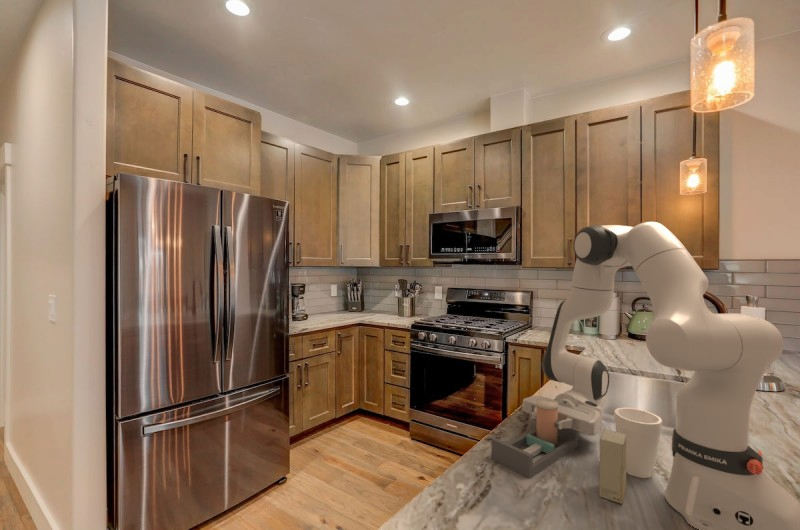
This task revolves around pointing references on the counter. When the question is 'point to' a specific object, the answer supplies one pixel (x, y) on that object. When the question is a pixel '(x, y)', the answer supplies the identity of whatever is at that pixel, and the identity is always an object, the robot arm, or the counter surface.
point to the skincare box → (612, 466)
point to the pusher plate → (537, 445)
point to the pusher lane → (527, 455)
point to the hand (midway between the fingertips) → (545, 421)
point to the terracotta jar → (547, 420)
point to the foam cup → (639, 439)
